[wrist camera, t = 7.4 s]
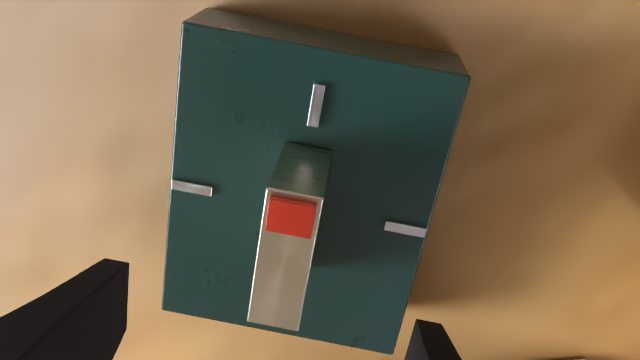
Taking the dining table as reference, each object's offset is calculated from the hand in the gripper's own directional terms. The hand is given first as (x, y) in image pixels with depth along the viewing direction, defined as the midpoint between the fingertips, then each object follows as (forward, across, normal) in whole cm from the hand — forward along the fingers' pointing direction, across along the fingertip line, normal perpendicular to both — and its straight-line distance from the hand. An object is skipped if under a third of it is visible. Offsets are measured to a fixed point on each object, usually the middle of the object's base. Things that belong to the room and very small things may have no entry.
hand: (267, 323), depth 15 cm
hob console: (+9, 0, 0) cm, 9 cm away
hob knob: (+6, 0, 0) cm, 6 cm away
